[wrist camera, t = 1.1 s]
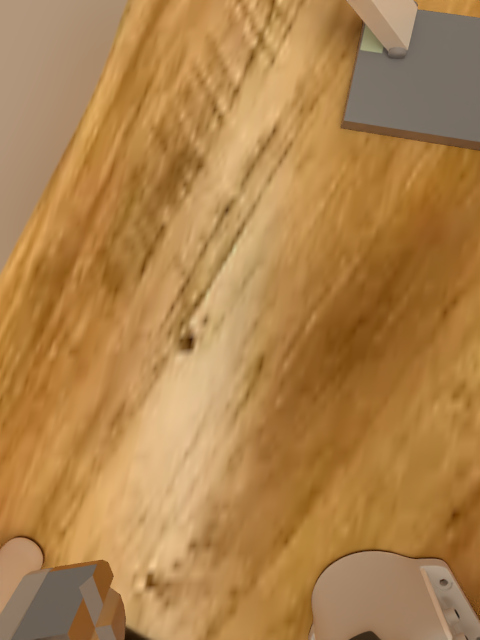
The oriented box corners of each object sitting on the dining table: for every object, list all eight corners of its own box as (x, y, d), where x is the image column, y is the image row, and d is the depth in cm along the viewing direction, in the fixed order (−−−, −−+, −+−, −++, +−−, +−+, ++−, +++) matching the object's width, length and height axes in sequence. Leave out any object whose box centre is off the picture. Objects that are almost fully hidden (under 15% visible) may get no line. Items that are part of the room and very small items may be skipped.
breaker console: (554, 162, 39) (575, 156, 36) (340, 128, 41) (344, 120, 38) (590, 51, 37) (615, 35, 34) (363, 19, 39) (369, 2, 36)
